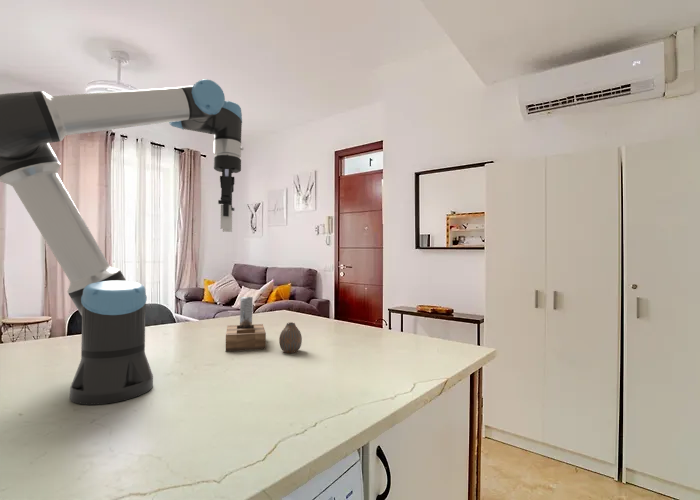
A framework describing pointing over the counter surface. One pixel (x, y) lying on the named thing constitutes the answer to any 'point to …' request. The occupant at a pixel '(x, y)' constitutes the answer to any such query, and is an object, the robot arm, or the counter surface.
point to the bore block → (245, 338)
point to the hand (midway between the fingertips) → (226, 230)
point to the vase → (290, 338)
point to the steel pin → (246, 312)
